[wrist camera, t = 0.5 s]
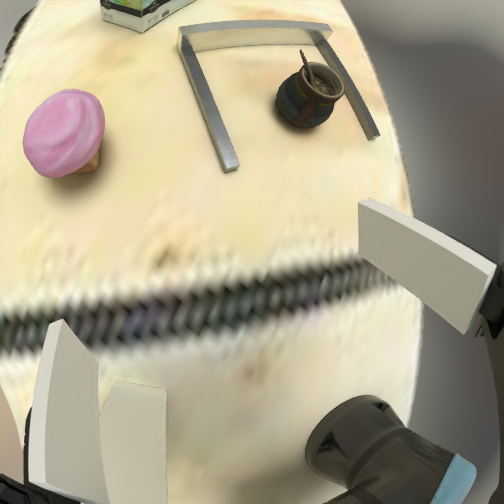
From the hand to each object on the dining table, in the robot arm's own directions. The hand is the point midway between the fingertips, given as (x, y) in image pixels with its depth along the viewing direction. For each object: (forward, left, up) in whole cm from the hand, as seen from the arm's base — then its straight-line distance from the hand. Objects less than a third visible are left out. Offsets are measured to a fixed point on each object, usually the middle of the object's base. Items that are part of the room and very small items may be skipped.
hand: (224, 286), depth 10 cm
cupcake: (+17, +8, -19) cm, 27 cm away
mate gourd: (+15, -19, -19) cm, 30 cm away
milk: (-12, +12, -19) cm, 25 cm away
